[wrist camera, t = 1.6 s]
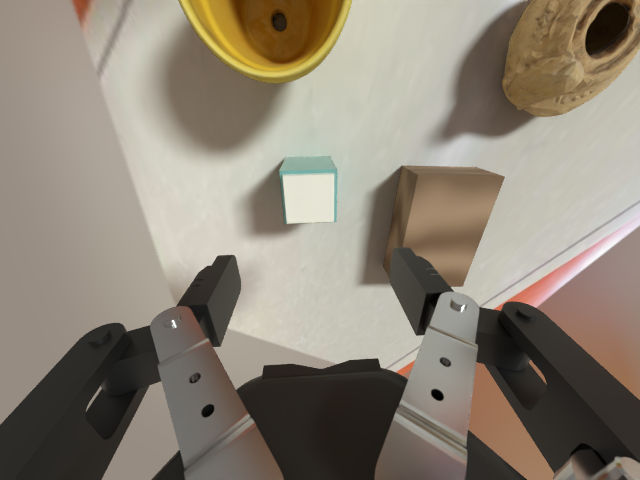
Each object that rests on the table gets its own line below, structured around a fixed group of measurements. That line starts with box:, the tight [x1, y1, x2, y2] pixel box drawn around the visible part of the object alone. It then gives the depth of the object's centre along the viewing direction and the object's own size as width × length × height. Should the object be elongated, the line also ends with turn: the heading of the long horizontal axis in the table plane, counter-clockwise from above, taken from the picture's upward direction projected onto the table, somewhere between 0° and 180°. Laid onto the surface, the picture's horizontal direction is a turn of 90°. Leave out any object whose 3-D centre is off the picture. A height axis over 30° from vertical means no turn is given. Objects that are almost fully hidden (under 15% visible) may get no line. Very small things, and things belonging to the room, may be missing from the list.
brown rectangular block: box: [383, 166, 505, 287], centre depth 30 cm, size 14×9×5 cm, turn 178°
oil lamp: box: [502, 0, 640, 117], centre depth 19 cm, size 11×15×8 cm
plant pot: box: [179, 0, 352, 83], centre depth 17 cm, size 10×10×10 cm
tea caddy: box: [279, 156, 337, 224], centre depth 25 cm, size 5×5×8 cm
